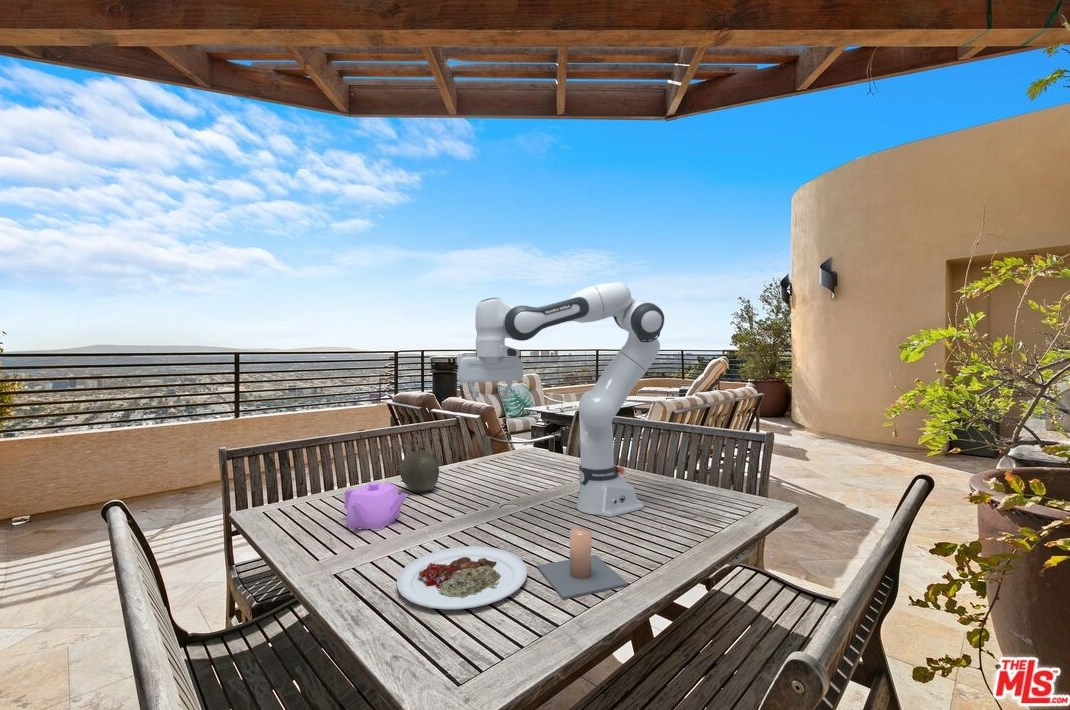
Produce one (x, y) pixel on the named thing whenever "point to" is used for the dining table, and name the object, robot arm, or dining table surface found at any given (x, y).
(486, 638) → the dining table surface
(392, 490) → the teakettle
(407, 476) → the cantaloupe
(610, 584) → the mat
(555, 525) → the dining table surface
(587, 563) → the tan rounded cylinder
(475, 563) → the plated food
